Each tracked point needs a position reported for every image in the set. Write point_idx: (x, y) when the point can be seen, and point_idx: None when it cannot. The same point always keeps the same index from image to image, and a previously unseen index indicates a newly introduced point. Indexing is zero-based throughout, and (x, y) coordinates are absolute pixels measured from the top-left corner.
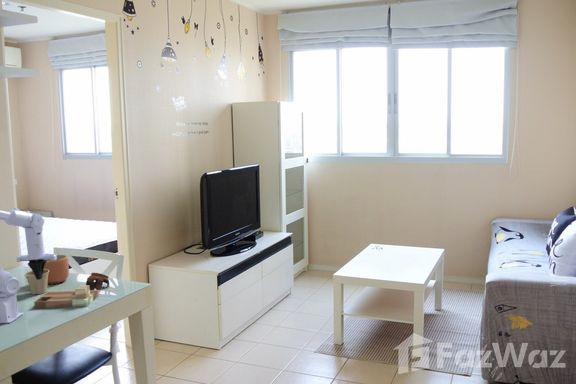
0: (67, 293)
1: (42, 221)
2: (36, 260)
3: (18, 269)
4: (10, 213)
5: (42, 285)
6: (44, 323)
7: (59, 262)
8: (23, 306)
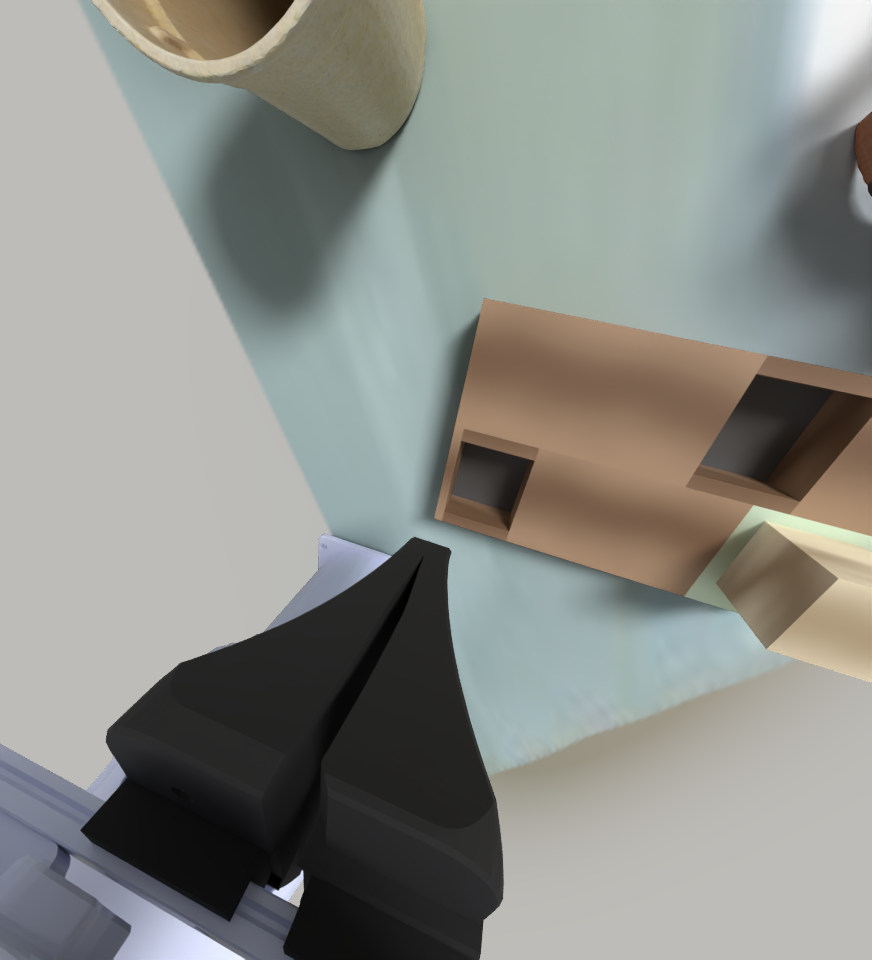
0: (659, 414)
1: None
2: (272, 906)
3: None
4: None
5: (380, 78)
6: (532, 699)
7: None
8: (371, 442)
